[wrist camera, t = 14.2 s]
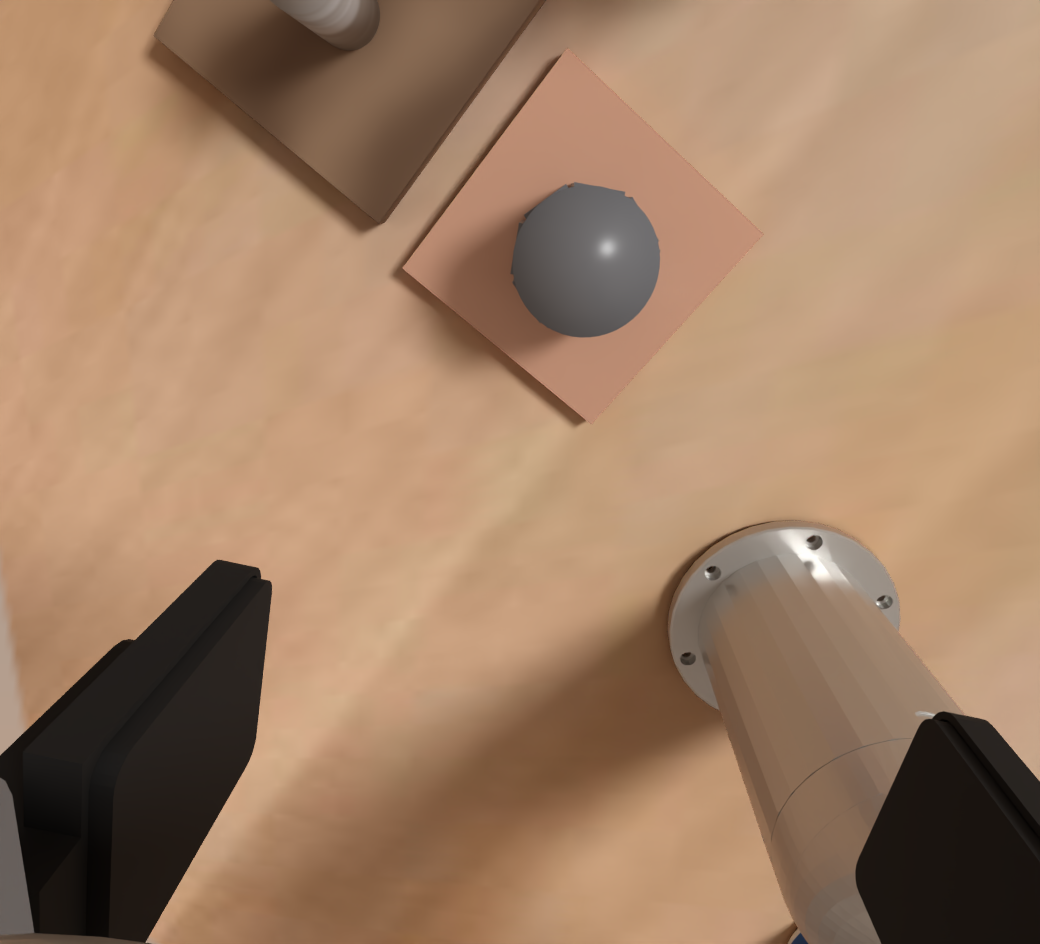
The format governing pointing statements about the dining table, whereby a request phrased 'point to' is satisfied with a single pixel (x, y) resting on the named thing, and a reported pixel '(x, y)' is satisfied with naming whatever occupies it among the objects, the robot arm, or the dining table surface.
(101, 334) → the dining table surface
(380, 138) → the post base
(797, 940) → the beverage bottle
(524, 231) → the cap
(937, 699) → the robot arm
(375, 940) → the dining table surface
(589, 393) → the tile
